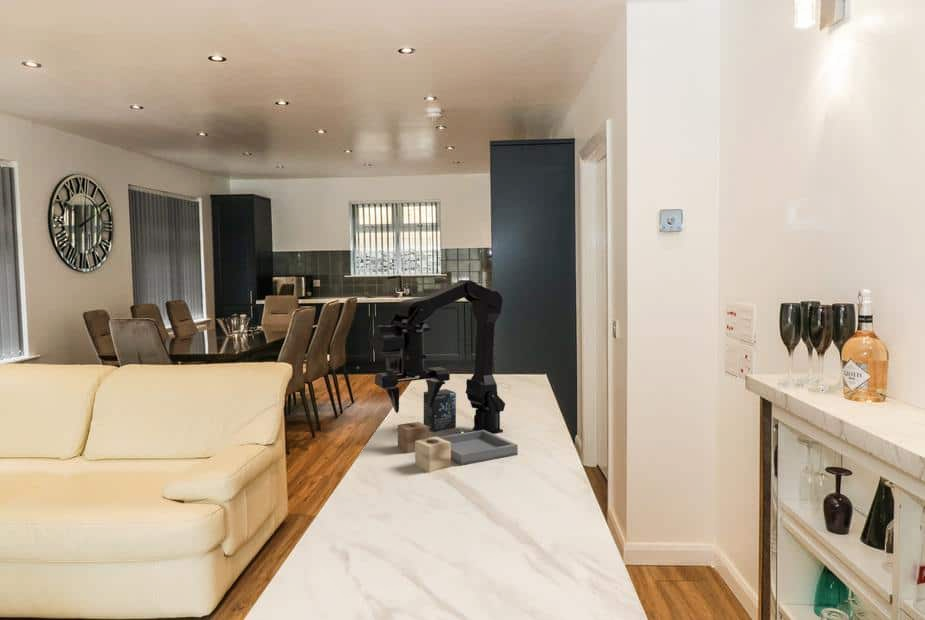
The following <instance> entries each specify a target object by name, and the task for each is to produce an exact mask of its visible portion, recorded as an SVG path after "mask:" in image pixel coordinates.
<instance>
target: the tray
mask: <svg viewBox="0 0 925 620" xmlns="http://www.w3.org/2000/svg"><path fill="white" fill-rule="evenodd" d="M454 434H455V433H454ZM448 435H449V436H446V435H442V436H443V437H440V436H437V437H438V438H441V439H444V440H446V441H449V442H451V461H453V462H455V463H456V464H459V465H460V466H466V465H471V464H476V463H481V462H482V463H483V462H486V461H491V460H496V459H501V458H502V459H503V458H507V457H512V456H517V455H518V452H519V451H518V449H519V448H518V447H519V446H518V444H516V443H514V442H513V441H510V440H508V439H505V438H503V437H501V436H499V435H496V434H495V433H490V432H488V431H485V430H479V431H475V430H473V431H469V432H466V433H461V434H455V435H452V434H448Z"/></svg>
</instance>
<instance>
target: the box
mask: <svg viewBox="0 0 925 620" xmlns="http://www.w3.org/2000/svg"><path fill="white" fill-rule="evenodd" d="M427 395H428V391H423V424H424V425H426V426H428V427H429V432H432V433H433V432H436V431H437V432H438V431H442V430H448V429H456V428H457V392H456V391H454V390H453V391H452V390H449V389H447V388H444V389H440V390H439V392H438V393H437V395H436V398H435V400H434V402H433V404H432V407H431V408H428V404H427Z"/></svg>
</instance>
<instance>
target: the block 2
mask: <svg viewBox="0 0 925 620" xmlns="http://www.w3.org/2000/svg"><path fill="white" fill-rule="evenodd" d="M438 437H439V436H433V437H432V436H431V437H429V438H427V439H422V440H418V441H415V452H414V457H415V458H414V463H415V466H416V467H417V468H419V469H422V470H424V471H426V472H428V473H432V472H437V471H441V470H444V469H447V468H448V469H449V468H451V467H452V460H451V442H449V441H446V440H444V439H441V438H438Z"/></svg>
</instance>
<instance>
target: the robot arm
mask: <svg viewBox="0 0 925 620" xmlns="http://www.w3.org/2000/svg"><path fill="white" fill-rule="evenodd" d="M462 299H465V300H466V301H467V302H468V303H471V309H472V313H473V316H474V318H475V320H476V335H475V336H476V339H475V357H474V358H475V361H474V373H473V375H472V376H471V377H470V378H467V379H466V381H465V382H466V389H465V394H466V397H467V400H468V401H469V402H470V406H471V408H472V409H475V412H474V416H473V427H472V430H473V431H479V430H485V431H488V432H490V433H492V434H495V433H503V432H504V430H503V429H502V428H501V427H500V426H501V412H504V410H505V406H506V403H505V402H504V400H503V399H502V398H501V397H500V396H499V395H498V384H497V382H496V379H495V378H494V375H493V365H494V349H495V348H494V346H495V345H494V344H495V343H494V342H495V327H496V326H495V325H496V322H497V320H498V319H499V316H500V315H501V314H502V307H503V296H502V294H500V293H499V292H498V291H496V290H491V289H489V288H487V287H485V286H482V285H480V284H478V283H477V282H475V281H473V280H469V279H461V280H460V279H459V280H458V281H457V282H455V283H453V284H451V285H449V286H446V287H444V288H441V289H439V290H437V291H435V292H433V293H430V294H428V295H425V296H420V297H413V298H409V299H403V300H402V301H400V302H399V303H398V305H397V308H396V312H395V313H394V315H393V317H392V318H391V319H390V321H389V323H388V325H377V326H376V327H375V331H374V333H373V335H372V338H371V346H372V348H373V351H374V352H375V353H376V354H377V355H380V354H388V353H397V352H399V354H398V359H395V357H393V356H392V357H387V358H386V359H385V368H386V371H387V372H379V373H376V375H375V377H374V385H376V386H379V387H380V388H382V389H384V390H385V391H386V392H387V393H386V394H387V395H388V397H389V399H390V402H391V404H392V405H391V406H392V408H393V409H394V413H396V414H398V413H399V411H400V387H398V386H397V385H398V384H399V383H402V382H403V383H405V382H413V381H420V380H425V382H426V386H427V392H428V395H427V404H428V408H431V407H432V404H433V402H434V400H435V398H436V395H437V393H438V392H439V390H441V389H442V386H443V385H445V384H446V382H447V381H450V379H451V378H450V377H451V376H450V374H451V373H450V371H449V370H448V369H447V368H444V367H440V366H437V367H427V369H426V370H425V362H424V361H425V359H427V354H426V353H425V352H424V350H425V349H424V348H425V347H424V345H425V343H424V339H425V338H424V332H430V331H431V327H430V326H428V325H427V323H425V321H427V320H428V319H429V318H431V317H432V316H433V314H434V313H436V311H438V310H440V309H442V308H444V307H446V306H449V305H451V304H453V303H455V302H457V301H459V300H462ZM390 371H392V372H390Z"/></svg>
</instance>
